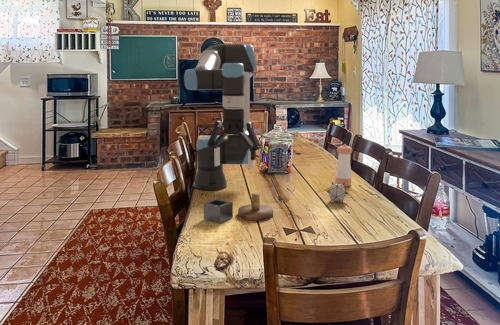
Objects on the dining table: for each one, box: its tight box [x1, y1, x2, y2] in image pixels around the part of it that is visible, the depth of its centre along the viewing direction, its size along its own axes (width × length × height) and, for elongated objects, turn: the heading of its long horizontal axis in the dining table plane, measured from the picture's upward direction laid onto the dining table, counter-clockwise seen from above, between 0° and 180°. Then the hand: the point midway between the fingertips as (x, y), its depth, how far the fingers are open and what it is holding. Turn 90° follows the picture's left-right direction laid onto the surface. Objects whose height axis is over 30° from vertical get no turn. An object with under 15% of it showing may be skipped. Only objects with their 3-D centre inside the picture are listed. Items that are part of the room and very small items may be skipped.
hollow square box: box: [202, 198, 234, 224], centre depth 154 cm, size 8×8×6 cm
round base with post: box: [237, 192, 274, 222], centre depth 158 cm, size 13×13×8 cm
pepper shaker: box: [334, 143, 353, 187], centre depth 199 cm, size 7×7×19 cm
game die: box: [326, 181, 349, 204], centre depth 174 cm, size 9×8×10 cm
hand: (233, 167), depth 154 cm, fingers open, 13 cm apart
